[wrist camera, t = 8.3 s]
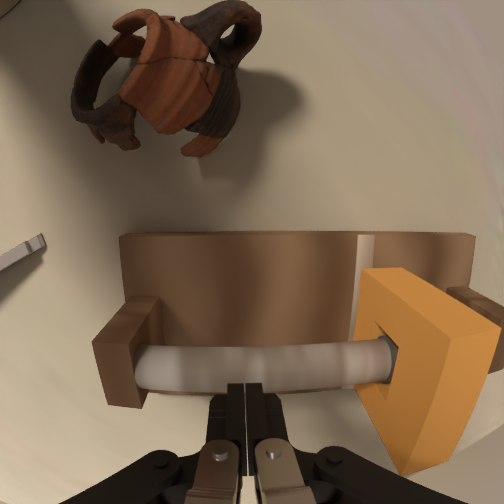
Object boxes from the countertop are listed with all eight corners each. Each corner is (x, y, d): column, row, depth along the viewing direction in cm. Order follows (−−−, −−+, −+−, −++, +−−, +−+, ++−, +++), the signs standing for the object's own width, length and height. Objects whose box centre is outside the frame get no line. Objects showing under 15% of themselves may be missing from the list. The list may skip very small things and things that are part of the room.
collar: (347, 375, 21) (400, 476, 11) (361, 268, 19) (451, 338, 10) (384, 370, 21) (447, 460, 11) (401, 267, 20) (501, 328, 10)
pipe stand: (145, 381, 23) (116, 452, 15) (126, 233, 21) (67, 262, 13) (440, 362, 24) (490, 412, 16) (464, 233, 22) (536, 255, 14)
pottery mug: (177, 197, 21) (76, 175, 14) (134, 113, 23) (54, 81, 16) (318, 77, 17) (261, -12, 9) (241, 12, 19) (178, -53, 12)
